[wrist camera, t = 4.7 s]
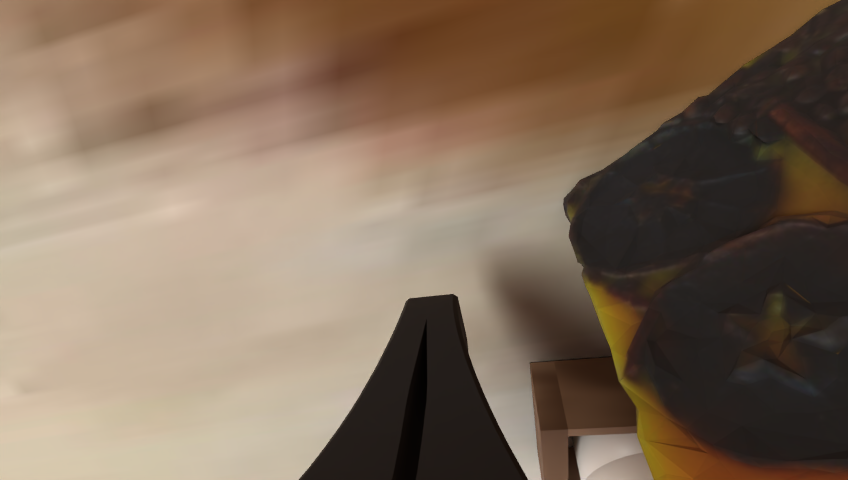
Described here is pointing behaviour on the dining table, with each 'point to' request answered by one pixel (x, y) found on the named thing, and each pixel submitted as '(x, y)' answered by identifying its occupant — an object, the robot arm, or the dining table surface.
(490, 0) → the dining table surface
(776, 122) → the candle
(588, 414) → the brown shallow box
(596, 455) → the dome button
